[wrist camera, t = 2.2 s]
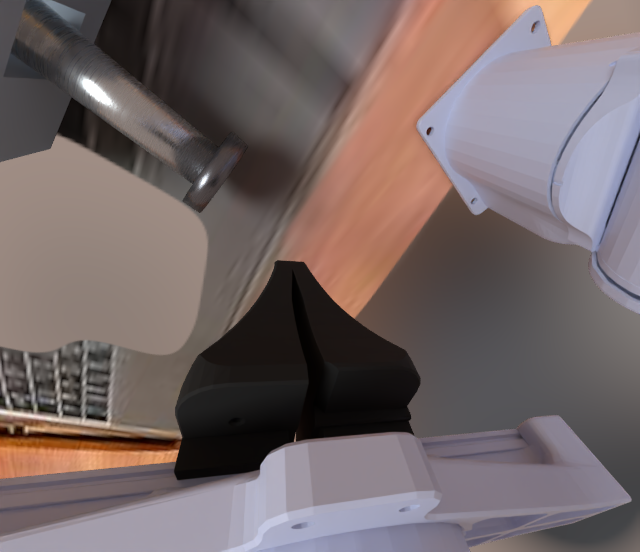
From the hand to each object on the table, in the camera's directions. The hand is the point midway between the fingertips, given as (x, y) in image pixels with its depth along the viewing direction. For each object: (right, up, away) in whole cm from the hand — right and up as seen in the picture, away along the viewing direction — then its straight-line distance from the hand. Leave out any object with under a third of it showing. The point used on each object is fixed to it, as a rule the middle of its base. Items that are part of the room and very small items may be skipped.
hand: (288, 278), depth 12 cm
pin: (-7, +9, +2) cm, 12 cm away
